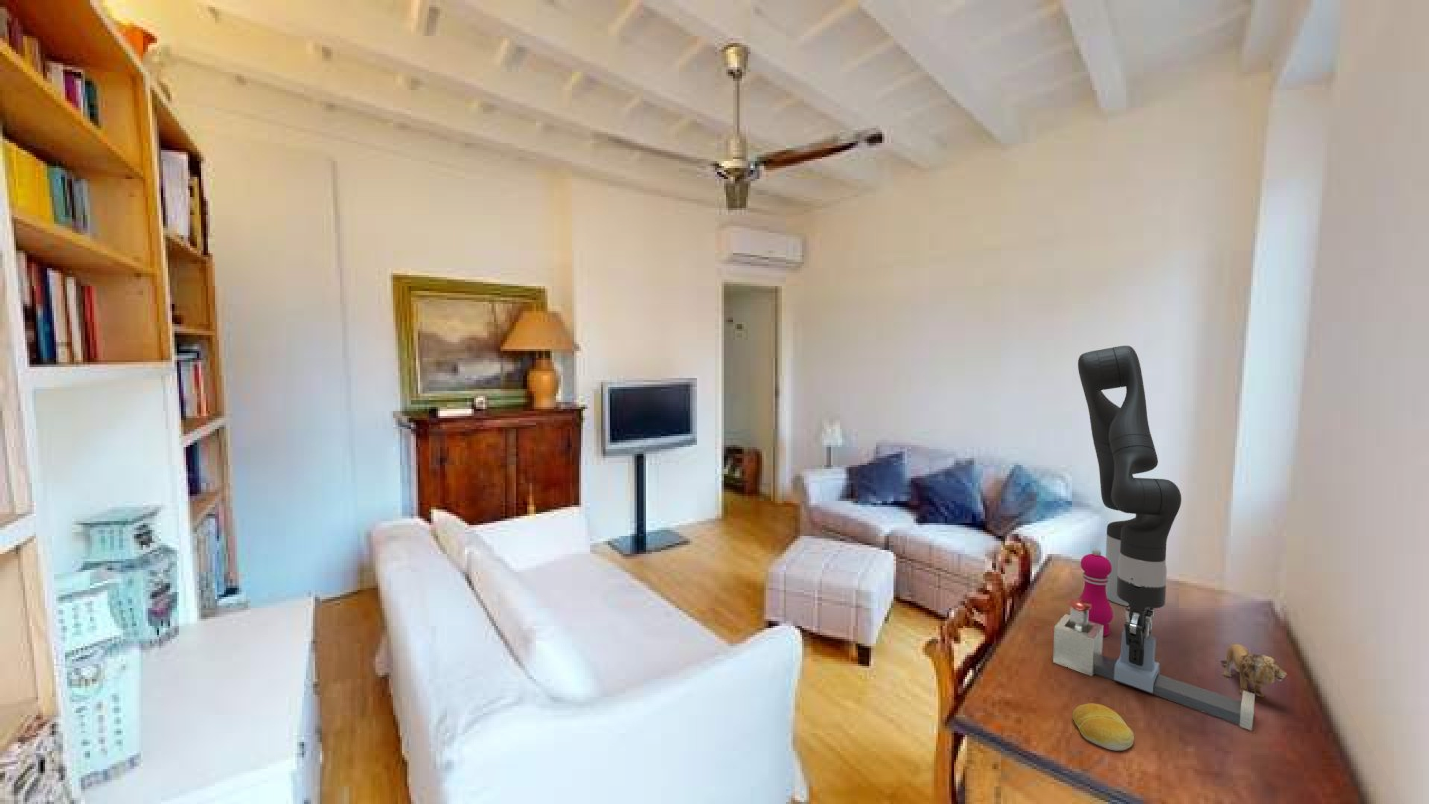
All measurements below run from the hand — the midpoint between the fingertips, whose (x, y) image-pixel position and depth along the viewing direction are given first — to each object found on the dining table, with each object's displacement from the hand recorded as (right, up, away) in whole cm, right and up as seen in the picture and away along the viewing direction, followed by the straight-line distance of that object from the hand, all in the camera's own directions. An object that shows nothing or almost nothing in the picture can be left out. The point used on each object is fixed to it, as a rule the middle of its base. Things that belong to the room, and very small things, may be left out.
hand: (1137, 660), depth 106 cm
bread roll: (-17, -7, -13) cm, 22 cm away
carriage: (0, -5, 0) cm, 5 cm away
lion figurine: (+20, -5, -2) cm, 21 cm away
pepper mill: (+6, -3, +21) cm, 22 cm away
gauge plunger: (-7, +3, +7) cm, 10 cm away
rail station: (+1, -5, -1) cm, 5 cm away
